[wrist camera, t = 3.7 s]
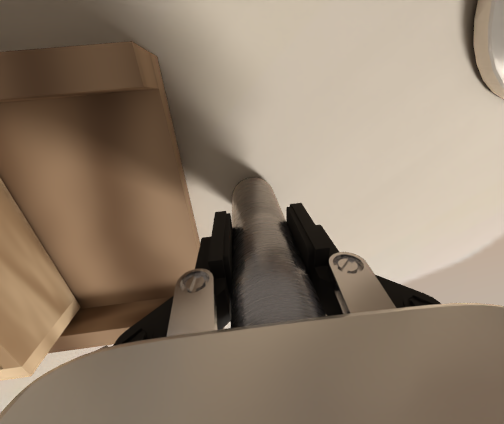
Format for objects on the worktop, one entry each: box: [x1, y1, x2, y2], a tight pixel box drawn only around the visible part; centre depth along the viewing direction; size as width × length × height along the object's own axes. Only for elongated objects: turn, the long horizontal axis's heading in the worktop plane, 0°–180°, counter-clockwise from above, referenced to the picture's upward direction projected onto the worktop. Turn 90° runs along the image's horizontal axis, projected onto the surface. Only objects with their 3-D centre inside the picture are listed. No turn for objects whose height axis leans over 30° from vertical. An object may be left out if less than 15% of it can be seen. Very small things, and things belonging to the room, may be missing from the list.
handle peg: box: [231, 178, 326, 328], centre depth 10 cm, size 3×3×13 cm
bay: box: [0, 41, 200, 353], centre depth 14 cm, size 21×18×4 cm
